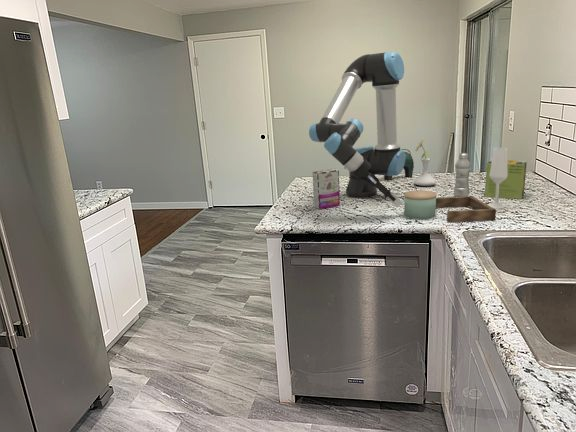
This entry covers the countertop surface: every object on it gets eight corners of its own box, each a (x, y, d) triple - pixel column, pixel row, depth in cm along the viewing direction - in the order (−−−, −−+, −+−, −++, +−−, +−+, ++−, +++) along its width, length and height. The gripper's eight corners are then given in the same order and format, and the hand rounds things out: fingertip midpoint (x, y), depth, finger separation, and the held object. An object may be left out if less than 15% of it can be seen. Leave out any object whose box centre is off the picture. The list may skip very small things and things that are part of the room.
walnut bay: (448, 222, 165) (448, 211, 164) (430, 207, 187) (430, 198, 186) (495, 220, 164) (496, 209, 163) (471, 205, 186) (472, 196, 185)
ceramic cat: (386, 181, 245) (386, 145, 240) (379, 179, 251) (379, 144, 245) (415, 177, 252) (416, 142, 247) (407, 175, 258) (408, 141, 253)
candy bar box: (334, 203, 201) (333, 168, 197) (340, 205, 197) (339, 169, 193) (313, 207, 196) (311, 171, 192) (319, 209, 192) (317, 172, 188)
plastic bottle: (470, 198, 197) (473, 154, 192) (454, 198, 199) (456, 154, 194) (467, 195, 204) (470, 152, 198) (452, 195, 205) (454, 152, 200)
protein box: (522, 199, 192) (525, 164, 188) (484, 196, 200) (486, 162, 196) (524, 194, 201) (527, 160, 197) (487, 192, 209) (490, 159, 205)
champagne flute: (483, 205, 185) (487, 148, 178) (495, 203, 187) (499, 147, 181) (496, 209, 179) (501, 150, 172) (508, 206, 181) (513, 148, 175)
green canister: (399, 217, 175) (399, 195, 173) (410, 210, 184) (411, 189, 182) (429, 220, 168) (430, 198, 166) (439, 213, 177) (440, 191, 175)
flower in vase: (420, 182, 238) (421, 135, 232) (440, 184, 230) (442, 136, 224) (407, 186, 229) (408, 138, 223) (427, 188, 221) (429, 138, 215)
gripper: (348, 169, 178) (389, 207, 182) (352, 175, 166) (396, 216, 170) (361, 156, 177) (402, 194, 181) (366, 160, 164) (410, 202, 168)
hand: (399, 204), depth 175 cm, fingers closed
